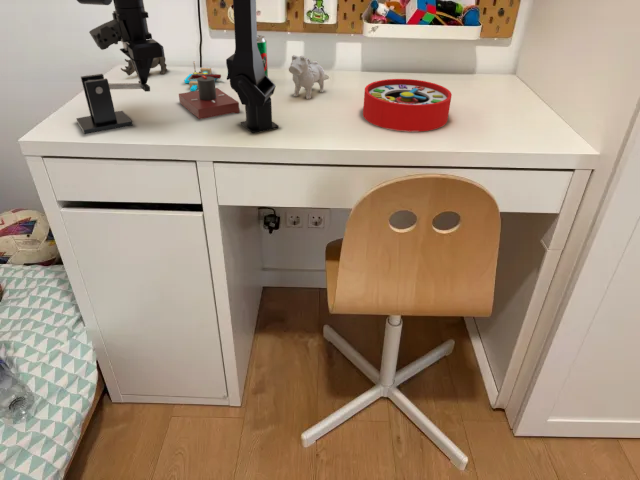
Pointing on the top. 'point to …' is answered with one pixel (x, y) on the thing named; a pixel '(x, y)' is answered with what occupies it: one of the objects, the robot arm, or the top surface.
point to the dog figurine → (306, 74)
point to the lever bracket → (100, 107)
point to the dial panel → (209, 104)
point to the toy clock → (406, 105)
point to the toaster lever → (129, 86)
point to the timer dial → (206, 88)
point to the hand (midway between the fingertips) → (143, 83)
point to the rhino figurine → (156, 61)
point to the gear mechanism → (195, 76)
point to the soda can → (263, 51)
